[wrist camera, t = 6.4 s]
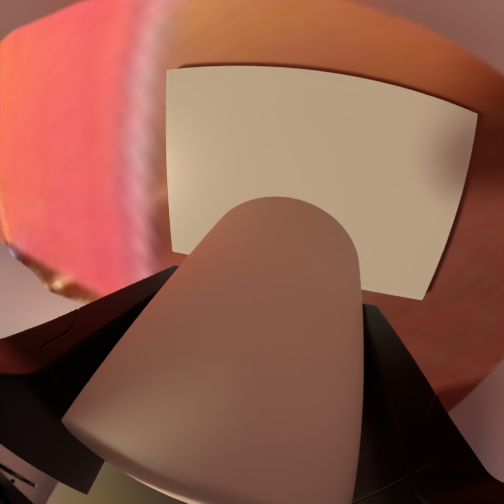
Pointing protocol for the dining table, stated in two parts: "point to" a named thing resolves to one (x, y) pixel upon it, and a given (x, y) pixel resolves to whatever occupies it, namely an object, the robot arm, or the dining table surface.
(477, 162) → the dining table surface
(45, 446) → the robot arm
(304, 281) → the cream rounded cone
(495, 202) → the dining table surface
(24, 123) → the dining table surface
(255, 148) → the beige flat plate
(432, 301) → the dining table surface
